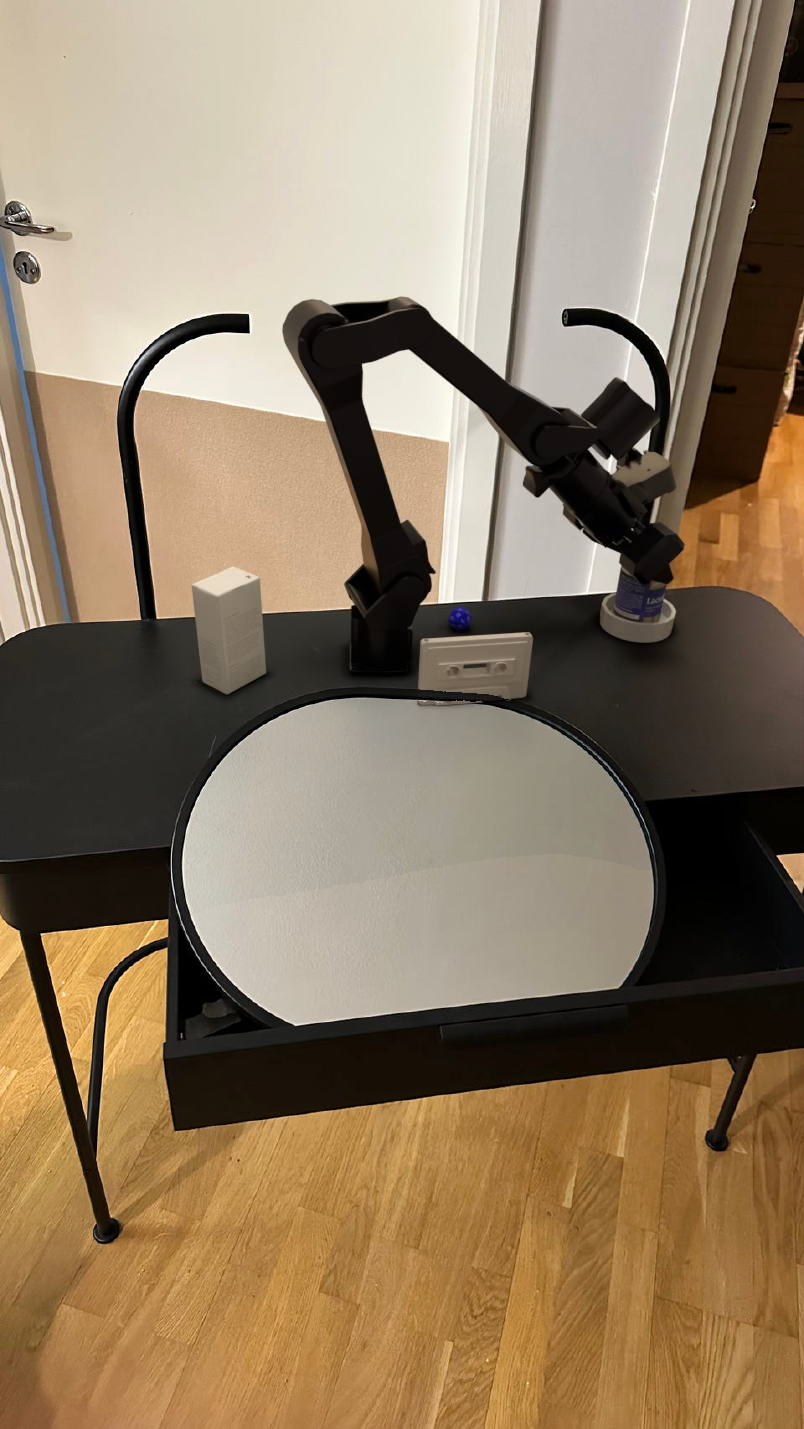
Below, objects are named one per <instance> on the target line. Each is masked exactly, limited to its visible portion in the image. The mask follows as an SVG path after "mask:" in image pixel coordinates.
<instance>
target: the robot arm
mask: <svg viewBox="0 0 804 1429" xmlns="http://www.w3.org/2000/svg"><path fill="white" fill-rule="evenodd" d="M281 332H282V337H283V338H282V339H283V342H284V344H285V346H286V348H287V351H288V353H289V354H290V356H291V357H292V359H293V361H294V363H295V365H296V366H297V369H298V370H299V373H301V376H302V377H303V379H304V380H305V382H306V384H307V385H308V387H309V389H310V390H311V392H312V393H313V395H314V397H315V398H316V401H317V402H318V404H319V406H320V408H321V412H322V414H323V417H324V420H325V423H326V425H327V429H328V432H329V435H330V437H331V441H332V444H333V447H334V450H335V452H336V456H337V458H338V461H339V464H340V467H341V469H342V473H343V475H344V479H345V482H346V485H347V488H348V490H349V494H350V497H351V499H352V502H353V505H354V508H355V511H356V514H357V517H358V519H359V523H360V527H361V534H360V535H361V536H360V548H361V556H362V564H361V565H360V566H359V567H358V568H357V569H356V570H355V572H353V573H352V574H351V576H350V577H348V579H346V580H345V581H344V584H343V586H344V588H345V591H346V593H347V596H348V598H349V600H351V602H352V603H353V604H352V605H351V606H350V643H349V673H350V674H352V675H407V674H408V672H409V667H408V666H409V664H408V663H410V662H412V657H413V637H414V636H413V634H414V630H413V623H414V621H415V617H416V615H417V613H418V610H419V607H420V606H421V604H422V603H423V602H424V601H425V600H426V599H427V597H428V595H429V593H430V592H432V588H433V581H432V576H431V575H436V573H437V571H436V570H435V569H434V567H433V566H432V564H431V563H430V559H429V552H428V545H427V541H426V539H425V538H424V537H423V536H422V535H421V533H420V532H419V531H418V530H417V528H416V527H415V526H414V525H413V523H412V522H411V521H410V520H409V519H406V520H404V521H403V522H401V519H400V516H399V513H398V510H397V508H396V503H395V500H394V497H393V494H392V490H391V487H390V483H389V480H388V477H387V474H386V471H385V468H384V465H383V461H382V459H381V455H380V452H379V449H378V445H377V442H376V439H375V436H374V433H373V429H372V426H371V424H370V420H369V417H368V413H367V410H366V407H365V403H364V399H363V392H364V391H363V386H364V369H363V365H364V364H370V363H374V362H377V361H379V360H382V359H384V358H386V357H390V356H391V355H394V354H397V353H398V352H402V351H403V352H404V351H409V352H411V353H412V354H414V355H415V356H416V357H417V358H418V359H420V360H421V361H422V362H423V363H425V364H426V365H427V366H428V367H430V368H431V369H432V370H433V371H434V372H435V373H437V374H438V375H439V376H440V377H442V378H443V379H444V380H445V381H446V382H447V383H448V384H450V385H451V386H452V387H454V388H455V389H456V390H457V391H458V392H460V393H461V394H462V395H463V396H464V397H466V398H467V399H468V400H469V401H471V402H472V403H473V404H474V405H475V406H476V407H477V408H478V409H479V410H480V411H481V413H482V414H483V415H484V417H485V419H486V420H487V422H488V423H489V424H490V426H491V427H492V428H493V429H494V430H495V432H496V433H497V434H498V435H499V437H500V438H501V439H502V440H503V441H504V443H505V444H506V445H507V446H509V447H510V449H512V450H513V451H514V452H516V453H517V454H518V455H519V456H521V457H522V458H523V459H524V460H526V461H527V462H528V463H529V464H531V465H526V466H525V467H524V468H525V469H524V470H525V475H524V477H523V480H522V487H523V488H524V489H525V490H527V491H528V492H529V493H530V494H531V495H533V496H534V497H535V498H537V499H538V498H540V497H542V495H544V494H545V493H546V491H548V489H549V490H550V491H551V492H552V493H553V494H554V495H555V496H556V498H557V499H559V501H560V502H561V503H562V507H563V508H562V515H563V516H564V518H566V519H567V521H568V522H569V523H570V524H571V525H573V526H574V527H575V528H576V529H577V530H578V531H579V532H581V531H582V534H583V535H584V536H586V538H588V540H590V541H591V542H593V543H594V544H595V543H596V544H598V545H600V546H602V547H603V548H605V549H609V550H611V551H614V552H616V553H619V558H618V559H619V560H618V563H619V564H620V567H621V566H622V567H623V568H624V569H625V570H626V571H627V572H628V573H629V574H630V575H631V576H633V577H634V578H635V579H636V580H637V581H638V582H639V583H641V584H642V585H644V584H649V583H650V582H651V581H656V582H659V583H663V584H667V585H669V584H671V582H672V581H673V580H674V578H675V576H674V573H673V571H672V568H671V563H672V562H673V561H674V560H675V559H677V557H678V556H679V555H680V554H681V553H682V552H683V551H684V550H685V545H686V544H685V542H684V541H683V540H682V538H681V537H680V536H679V535H678V534H677V533H676V532H675V531H674V530H672V529H671V528H669V527H668V526H667V525H665V523H663V522H661V521H657V522H656V521H655V522H651V523H649V524H647V525H646V526H645V525H644V524H642V523H641V522H640V521H639V520H637V519H641V518H642V517H643V516H644V515H646V513H647V512H648V508H646V507H645V506H644V505H646V504H649V503H651V502H653V501H655V500H657V499H658V498H660V497H662V496H664V495H666V494H670V493H673V492H674V491H675V490H676V489H677V483H676V478H675V474H674V470H673V466H672V462H671V461H670V460H669V459H667V458H665V457H664V456H663V455H661V454H660V453H657V452H655V451H649V450H647V449H645V450H643V454H642V452H641V451H639V450H638V449H637V448H635V446H636V445H637V444H638V443H639V442H640V441H641V440H642V439H644V437H645V436H646V435H647V434H648V433H649V432H650V431H651V430H652V429H653V428H654V427H655V426H656V425H657V424H658V423H659V422H660V416H659V414H658V413H657V411H656V410H655V409H654V408H655V407H653V406H652V405H651V404H650V403H649V402H647V401H645V400H644V399H643V398H642V397H641V395H639V394H638V393H637V392H636V391H635V390H634V389H633V388H631V387H630V385H629V384H628V383H627V382H626V381H625V380H624V379H621V378H620V377H618V376H615V377H613V379H611V381H609V382H608V384H607V385H606V386H605V388H604V389H603V390H602V392H601V393H600V394H599V395H597V397H596V398H595V399H594V400H593V401H592V402H591V403H590V404H589V406H588V407H586V409H584V411H583V412H582V413H581V414H578V412H576V411H574V410H573V409H571V408H569V407H561V406H552V405H551V406H550V405H549V404H548V403H546V402H545V401H544V400H542V399H540V398H539V397H538V396H535V395H533V394H531V393H530V392H528V391H527V390H524V389H523V388H521V387H519V386H517V385H515V384H514V383H513V384H512V383H511V382H509V381H507V380H506V379H504V378H503V376H500V375H499V374H498V373H497V372H496V371H495V370H494V369H493V368H491V367H490V366H489V365H488V364H487V363H486V362H484V361H483V360H482V359H481V358H480V357H479V356H478V355H476V354H475V353H474V352H473V351H472V350H470V349H469V348H468V346H466V345H465V344H463V343H462V342H461V341H460V340H459V339H458V338H456V336H454V335H453V334H452V333H451V332H450V331H449V330H448V329H446V328H445V327H444V326H443V325H441V323H439V322H438V321H437V320H436V319H434V317H433V315H431V313H430V311H429V310H428V309H427V308H426V307H425V306H423V305H421V303H418V301H415V300H414V299H412V298H410V297H409V296H398V297H395V298H389V299H383V300H367V301H366V300H365V301H346V302H340V303H334V304H329V303H327V302H326V301H323V300H322V299H315V298H311V299H305V300H302V301H300V302H298V303H297V304H295V305H294V306H292V308H291V309H290V310H289V311H288V312H287V315H286V317H285V320H284V322H283V323H282V328H281ZM591 448H592V449H593V451H595V453H597V455H599V456H600V457H601V458H603V459H604V460H606V461H608V460H609V459H610V458H611V457H613V458H614V460H616V464H615V469H616V470H615V471H614V472H613V473H611V472H609V471H608V470H607V469H605V468H604V466H603V465H602V464H601V463H600V462H599V460H598V459H597V458H596V457H595V455H594V454H592V452H591V451H590V449H591Z"/></svg>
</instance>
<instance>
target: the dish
mask: <svg viewBox="0 0 804 1429" xmlns="http://www.w3.org/2000/svg"><path fill="white" fill-rule="evenodd" d="M615 596H616V592H613V593H610V594H608V595H607V596H605V597H603V601H602V602H601V608H600V613H599V624H600V627H601V628H602V629H603V630H604V631H605V632H607V634H609V635H611V636H613V637H615V638H616V639H617V638H618V639H620V640H624V641H627V642H633V643H642V644H643V643H644V644H645V643H646V644H647V643H648V644H649V643H656V642H660V641H663V640H665V639H667V638H669V636H670V635H671V634H672V633H673V627H674V624H675V619H676V614H677V610H676V608H675V606H674V605H673V603H671V602H670V601H668V600H667V599H665V598H664V600H663V605H662V610H661V615H660V619H659V622H655V623H639V622H634V621H629V620H625V619H623V618H620V617H618V616H616V615H614V614H613V607H614V602H615Z"/></svg>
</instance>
